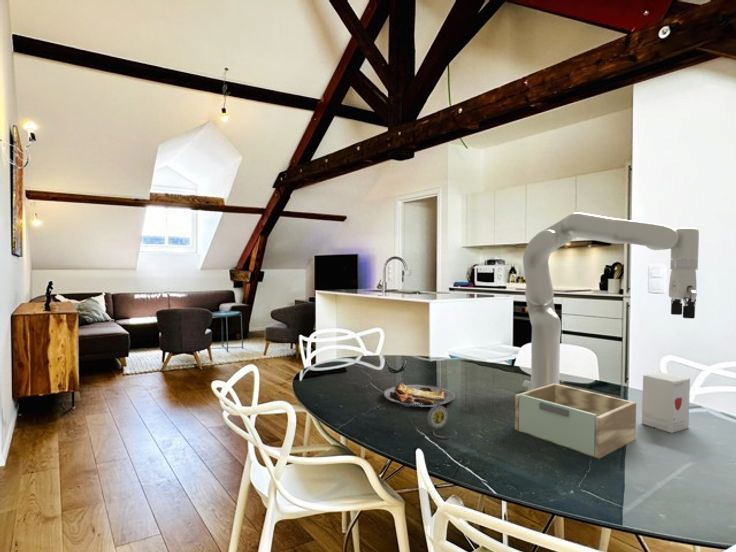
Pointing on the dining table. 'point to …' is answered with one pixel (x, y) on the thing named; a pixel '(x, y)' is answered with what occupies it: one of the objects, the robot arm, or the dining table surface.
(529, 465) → the dining table surface
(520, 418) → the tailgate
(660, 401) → the supplement box
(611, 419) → the crate
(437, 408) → the pocket watch
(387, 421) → the dining table surface
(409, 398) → the food plate
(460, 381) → the dining table surface
